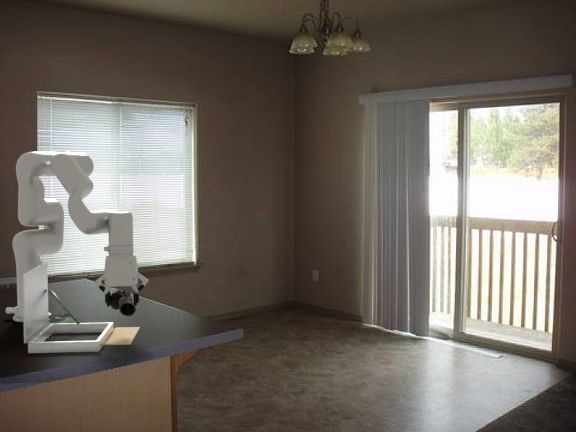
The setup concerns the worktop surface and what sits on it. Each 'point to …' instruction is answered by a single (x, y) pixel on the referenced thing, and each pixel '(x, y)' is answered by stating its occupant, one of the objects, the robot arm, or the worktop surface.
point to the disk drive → (61, 318)
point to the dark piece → (123, 302)
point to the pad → (122, 336)
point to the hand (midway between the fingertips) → (122, 305)
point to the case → (41, 328)
